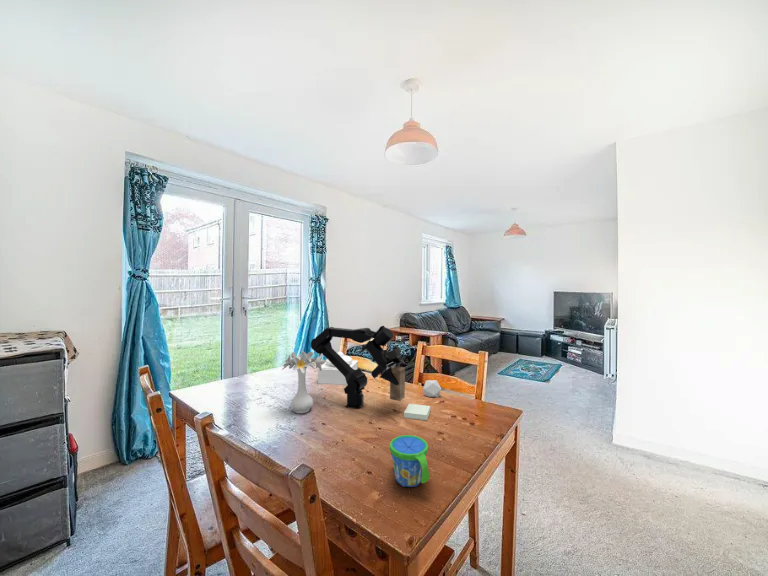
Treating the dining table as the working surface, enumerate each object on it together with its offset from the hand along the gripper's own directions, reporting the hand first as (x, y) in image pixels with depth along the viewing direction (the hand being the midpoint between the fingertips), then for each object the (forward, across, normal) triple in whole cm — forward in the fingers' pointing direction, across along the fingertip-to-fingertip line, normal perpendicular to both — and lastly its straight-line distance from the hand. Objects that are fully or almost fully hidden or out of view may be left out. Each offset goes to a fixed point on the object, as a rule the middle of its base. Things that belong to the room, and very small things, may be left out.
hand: (400, 383), depth 129 cm
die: (+13, +25, +6) cm, 29 cm away
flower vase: (-18, -14, +38) cm, 44 cm away
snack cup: (+24, -36, -5) cm, 44 cm away
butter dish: (-25, +26, +46) cm, 59 cm away
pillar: (+4, 0, +6) cm, 7 cm away
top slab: (+13, +2, +3) cm, 14 cm away
